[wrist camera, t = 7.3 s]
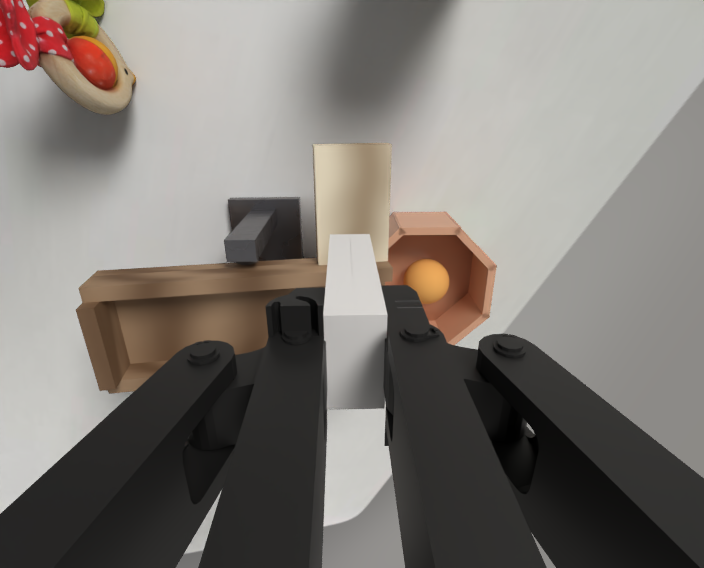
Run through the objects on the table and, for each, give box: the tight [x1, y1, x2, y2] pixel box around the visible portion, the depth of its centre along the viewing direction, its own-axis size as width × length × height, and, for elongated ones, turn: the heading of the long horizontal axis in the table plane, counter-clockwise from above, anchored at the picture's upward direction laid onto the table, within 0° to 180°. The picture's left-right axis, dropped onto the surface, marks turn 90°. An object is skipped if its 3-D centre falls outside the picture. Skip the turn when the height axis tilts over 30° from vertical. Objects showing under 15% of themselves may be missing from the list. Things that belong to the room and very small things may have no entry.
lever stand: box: [224, 197, 303, 262], centre depth 34 cm, size 6×14×10 cm, turn 0°
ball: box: [403, 259, 449, 304], centre depth 37 cm, size 4×4×4 cm
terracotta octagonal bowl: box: [385, 212, 497, 345], centre depth 37 cm, size 11×11×5 cm
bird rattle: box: [0, 0, 136, 115], centre depth 27 cm, size 6×11×9 cm
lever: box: [76, 143, 393, 394], centre depth 29 cm, size 20×16×6 cm
